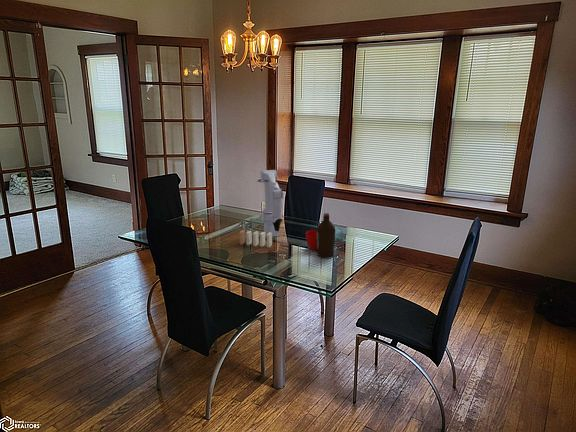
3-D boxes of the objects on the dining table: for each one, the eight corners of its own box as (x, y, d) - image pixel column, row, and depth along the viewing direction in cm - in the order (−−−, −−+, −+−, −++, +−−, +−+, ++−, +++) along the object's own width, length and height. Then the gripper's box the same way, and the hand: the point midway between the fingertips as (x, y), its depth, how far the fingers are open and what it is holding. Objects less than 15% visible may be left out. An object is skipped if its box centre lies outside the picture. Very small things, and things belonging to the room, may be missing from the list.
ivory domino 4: (272, 244, 254) (271, 232, 252) (269, 247, 250) (269, 234, 248) (269, 244, 255) (269, 232, 253) (266, 247, 250) (266, 234, 248)
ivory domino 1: (251, 242, 258) (251, 230, 256) (248, 245, 254) (248, 233, 252) (249, 242, 259) (249, 230, 257) (246, 245, 254) (246, 232, 252)
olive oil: (335, 253, 239) (337, 212, 233) (333, 259, 230) (334, 216, 223) (318, 251, 242) (319, 210, 236) (314, 257, 232) (315, 215, 226)
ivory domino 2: (258, 243, 257) (258, 231, 255) (255, 246, 252) (255, 233, 250) (256, 243, 257) (255, 231, 255) (253, 245, 253) (253, 233, 251)
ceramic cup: (321, 242, 258) (321, 227, 256) (329, 251, 242) (330, 235, 240) (301, 244, 256) (301, 229, 253) (308, 253, 240) (309, 237, 237)
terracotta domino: (245, 242, 260) (244, 230, 257) (242, 244, 255) (241, 232, 253) (242, 242, 260) (242, 230, 258) (239, 244, 255) (239, 232, 253)
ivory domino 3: (265, 244, 256) (265, 232, 254) (262, 246, 251) (262, 234, 249) (262, 243, 256) (262, 231, 254) (260, 246, 252) (259, 234, 249)
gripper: (274, 206, 253) (274, 227, 256) (266, 211, 239) (267, 233, 243) (285, 206, 251) (285, 227, 254) (278, 212, 237) (278, 234, 241)
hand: (277, 230), depth 248 cm, fingers closed
